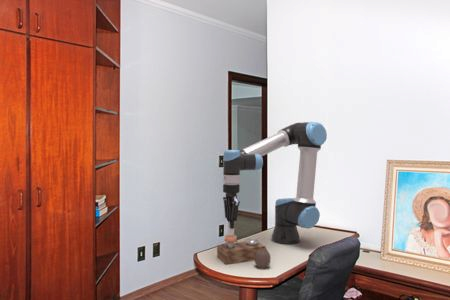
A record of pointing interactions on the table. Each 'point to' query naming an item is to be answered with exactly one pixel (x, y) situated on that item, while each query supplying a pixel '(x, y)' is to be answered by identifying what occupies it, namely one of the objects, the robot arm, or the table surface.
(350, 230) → the table surface
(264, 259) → the vase
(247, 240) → the grey plunger
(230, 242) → the terracotta plunger
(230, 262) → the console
